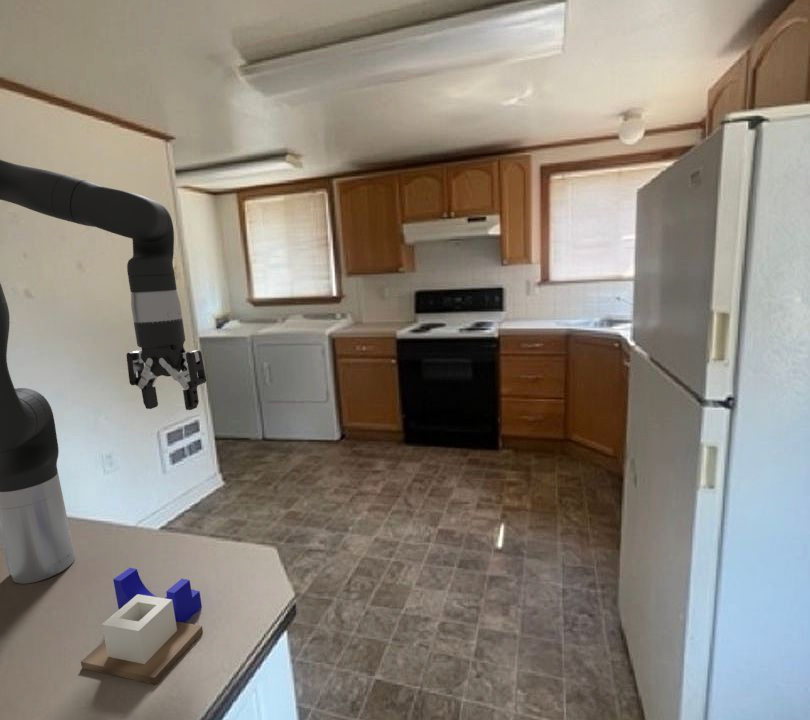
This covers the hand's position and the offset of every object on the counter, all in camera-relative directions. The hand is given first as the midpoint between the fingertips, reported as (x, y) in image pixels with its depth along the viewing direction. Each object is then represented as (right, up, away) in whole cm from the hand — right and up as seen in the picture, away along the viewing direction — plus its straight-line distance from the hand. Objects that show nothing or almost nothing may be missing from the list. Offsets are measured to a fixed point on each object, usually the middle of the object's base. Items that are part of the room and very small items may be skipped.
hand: (171, 408), depth 84 cm
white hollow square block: (+5, -31, -18) cm, 36 cm away
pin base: (+5, -32, -18) cm, 37 cm away
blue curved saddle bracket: (+4, -31, -10) cm, 33 cm away
